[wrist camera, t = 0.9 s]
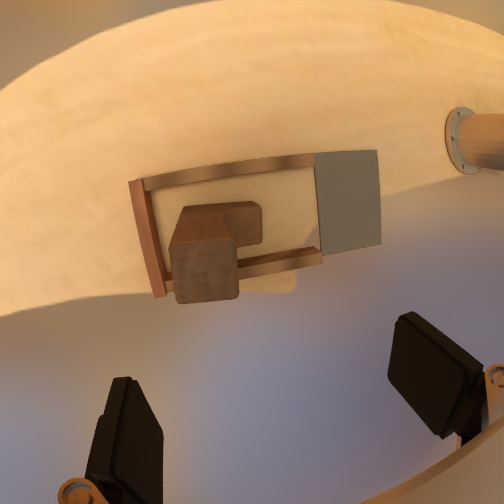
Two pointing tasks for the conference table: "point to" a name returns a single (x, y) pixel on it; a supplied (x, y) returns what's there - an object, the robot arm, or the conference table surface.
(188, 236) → the wooden block
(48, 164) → the conference table surface
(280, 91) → the conference table surface
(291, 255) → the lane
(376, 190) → the mat
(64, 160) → the conference table surface
